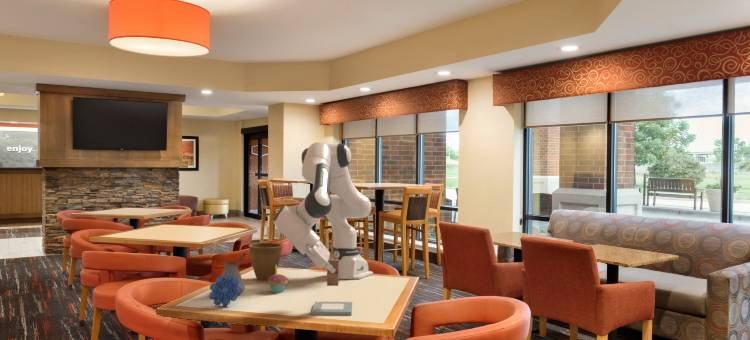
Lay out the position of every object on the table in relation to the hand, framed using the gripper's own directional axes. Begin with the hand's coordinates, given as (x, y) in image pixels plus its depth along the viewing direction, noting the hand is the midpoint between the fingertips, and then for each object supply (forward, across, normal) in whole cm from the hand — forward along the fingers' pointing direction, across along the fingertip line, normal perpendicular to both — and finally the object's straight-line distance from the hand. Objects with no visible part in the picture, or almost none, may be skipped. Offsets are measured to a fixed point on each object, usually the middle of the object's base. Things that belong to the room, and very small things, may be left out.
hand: (334, 270), depth 198 cm
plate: (+10, 0, +11) cm, 14 cm away
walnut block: (+3, 0, +4) cm, 5 cm away
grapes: (-18, +5, +39) cm, 44 cm away
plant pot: (-14, +52, +34) cm, 64 cm away
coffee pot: (-19, +27, +40) cm, 52 cm away
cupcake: (-7, +28, +28) cm, 41 cm away
